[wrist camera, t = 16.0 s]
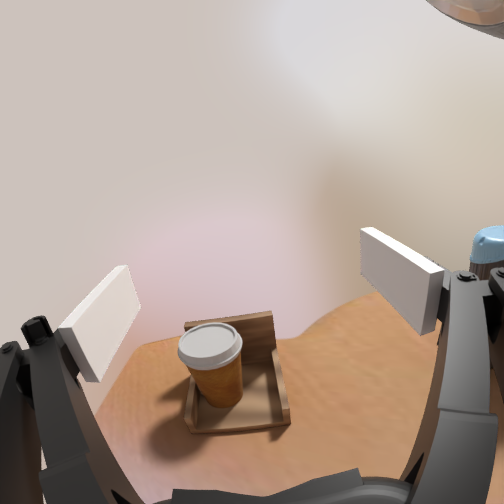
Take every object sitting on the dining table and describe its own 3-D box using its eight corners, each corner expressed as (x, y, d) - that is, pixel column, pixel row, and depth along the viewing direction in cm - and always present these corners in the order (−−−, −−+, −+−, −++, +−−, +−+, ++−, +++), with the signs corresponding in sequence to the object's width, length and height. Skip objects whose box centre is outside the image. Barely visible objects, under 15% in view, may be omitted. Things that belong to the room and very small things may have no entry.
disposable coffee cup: (249, 371, 47) (237, 316, 43) (256, 410, 38) (244, 353, 34) (196, 379, 46) (178, 325, 42) (195, 419, 37) (171, 364, 33)
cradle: (291, 423, 35) (286, 374, 32) (191, 433, 35) (167, 386, 32) (277, 359, 50) (271, 310, 47) (200, 368, 50) (185, 322, 47)
